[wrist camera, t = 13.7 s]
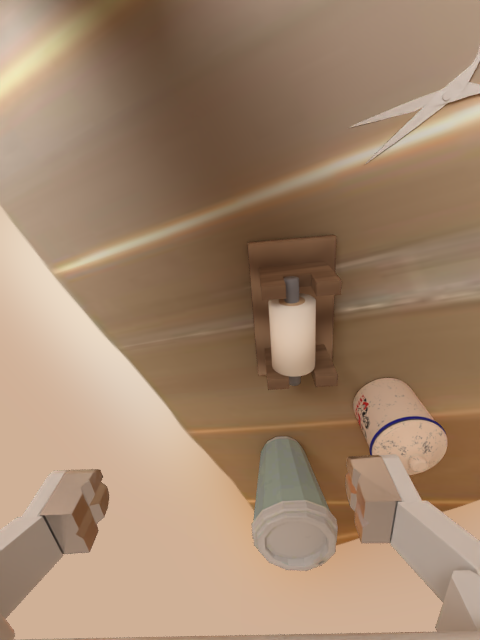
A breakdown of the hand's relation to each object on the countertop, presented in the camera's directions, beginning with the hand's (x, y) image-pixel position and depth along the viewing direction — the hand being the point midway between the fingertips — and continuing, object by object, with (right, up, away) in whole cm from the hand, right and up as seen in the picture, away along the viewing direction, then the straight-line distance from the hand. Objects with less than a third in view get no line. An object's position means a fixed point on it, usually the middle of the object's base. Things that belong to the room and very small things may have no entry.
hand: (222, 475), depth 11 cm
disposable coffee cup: (+7, -15, +42) cm, 45 cm away
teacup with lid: (+22, -8, +38) cm, 44 cm away
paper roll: (+6, +4, +26) cm, 27 cm away
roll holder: (+7, +6, +31) cm, 33 cm away
